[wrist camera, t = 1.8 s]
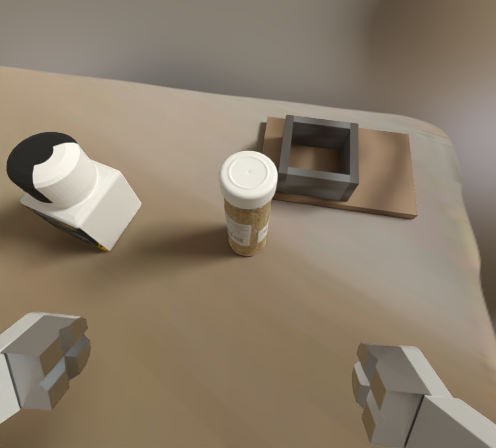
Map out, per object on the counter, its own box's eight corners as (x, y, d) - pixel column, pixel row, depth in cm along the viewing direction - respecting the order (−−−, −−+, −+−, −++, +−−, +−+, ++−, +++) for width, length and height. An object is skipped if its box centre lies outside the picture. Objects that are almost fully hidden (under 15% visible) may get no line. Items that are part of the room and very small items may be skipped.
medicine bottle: (60, 230, 34) (-28, 170, 23) (96, 185, 36) (34, 112, 26) (109, 253, 32) (42, 201, 22) (143, 204, 35) (98, 136, 24)
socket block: (254, 196, 36) (255, 173, 31) (267, 121, 41) (270, 93, 37) (413, 218, 35) (438, 198, 30) (404, 139, 40) (424, 111, 36)
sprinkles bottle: (272, 246, 33) (289, 182, 21) (238, 263, 32) (234, 207, 20) (254, 216, 35) (260, 140, 23) (221, 231, 34) (208, 160, 22)
